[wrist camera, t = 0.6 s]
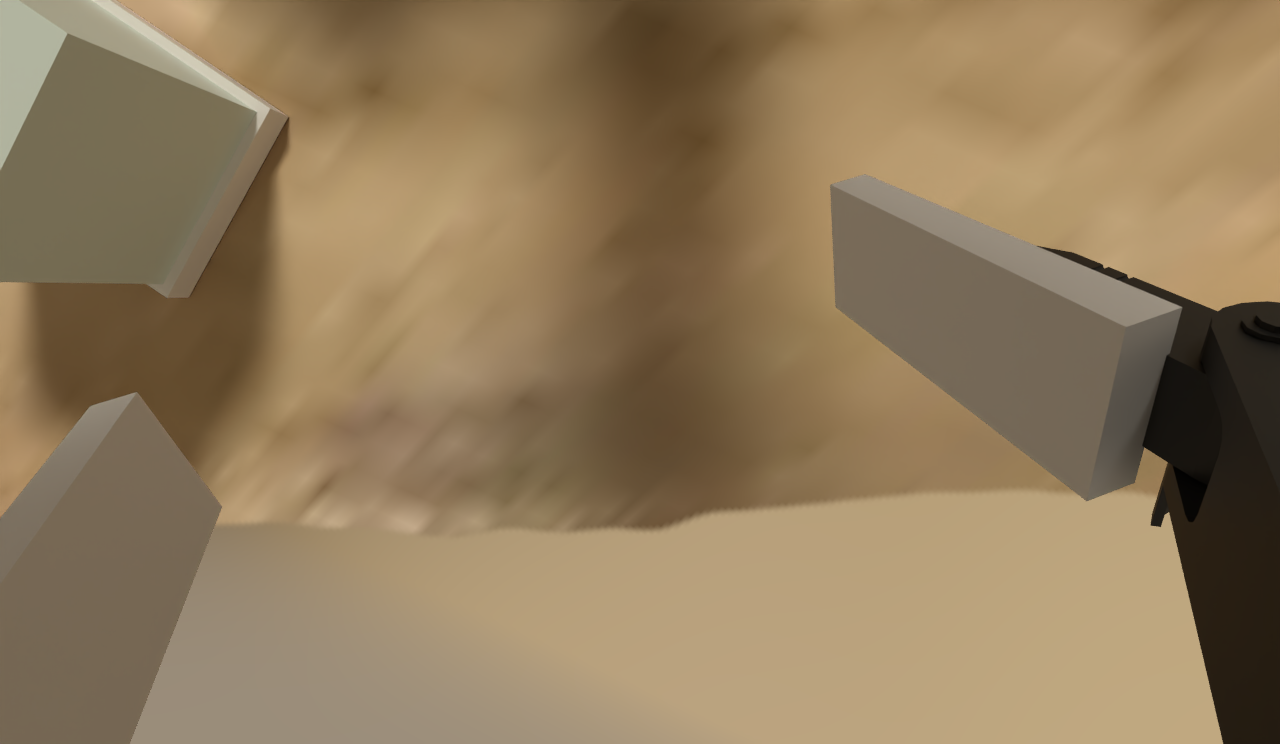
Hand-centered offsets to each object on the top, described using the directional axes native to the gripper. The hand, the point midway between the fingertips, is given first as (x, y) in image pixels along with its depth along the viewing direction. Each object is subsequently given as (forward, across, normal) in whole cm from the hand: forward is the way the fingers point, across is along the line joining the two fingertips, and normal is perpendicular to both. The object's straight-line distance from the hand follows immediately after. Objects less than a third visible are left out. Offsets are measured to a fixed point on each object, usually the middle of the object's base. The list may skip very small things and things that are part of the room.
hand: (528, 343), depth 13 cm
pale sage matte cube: (+28, -16, +3) cm, 33 cm away
